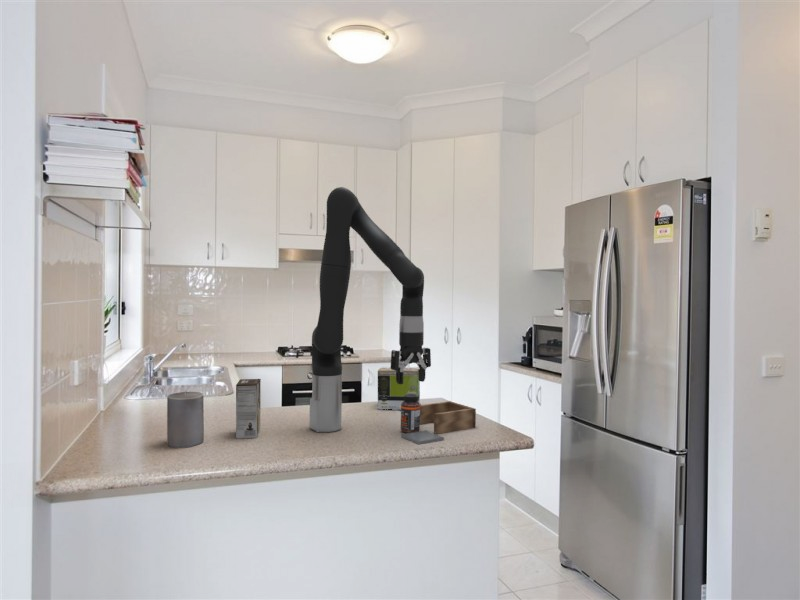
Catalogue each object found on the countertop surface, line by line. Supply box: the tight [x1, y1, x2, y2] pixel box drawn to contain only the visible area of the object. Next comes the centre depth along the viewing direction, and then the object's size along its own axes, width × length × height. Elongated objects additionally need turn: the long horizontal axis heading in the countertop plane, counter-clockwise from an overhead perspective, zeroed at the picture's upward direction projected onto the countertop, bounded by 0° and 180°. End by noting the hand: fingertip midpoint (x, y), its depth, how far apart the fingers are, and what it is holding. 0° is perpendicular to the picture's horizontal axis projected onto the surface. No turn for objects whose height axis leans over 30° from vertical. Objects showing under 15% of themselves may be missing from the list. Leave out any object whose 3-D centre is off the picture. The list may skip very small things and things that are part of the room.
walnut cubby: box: [420, 400, 477, 435], centre depth 176 cm, size 16×13×6 cm
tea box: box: [377, 366, 421, 411], centre depth 203 cm, size 15×10×15 cm
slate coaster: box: [400, 429, 445, 445], centre depth 162 cm, size 9×9×1 cm
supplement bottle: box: [400, 394, 421, 434], centre depth 169 cm, size 6×6×11 cm
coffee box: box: [235, 378, 262, 439], centre depth 164 cm, size 9×6×16 cm
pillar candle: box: [166, 390, 205, 449], centre depth 154 cm, size 10×10×15 cm
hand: (411, 382), depth 169 cm, fingers open, 8 cm apart
